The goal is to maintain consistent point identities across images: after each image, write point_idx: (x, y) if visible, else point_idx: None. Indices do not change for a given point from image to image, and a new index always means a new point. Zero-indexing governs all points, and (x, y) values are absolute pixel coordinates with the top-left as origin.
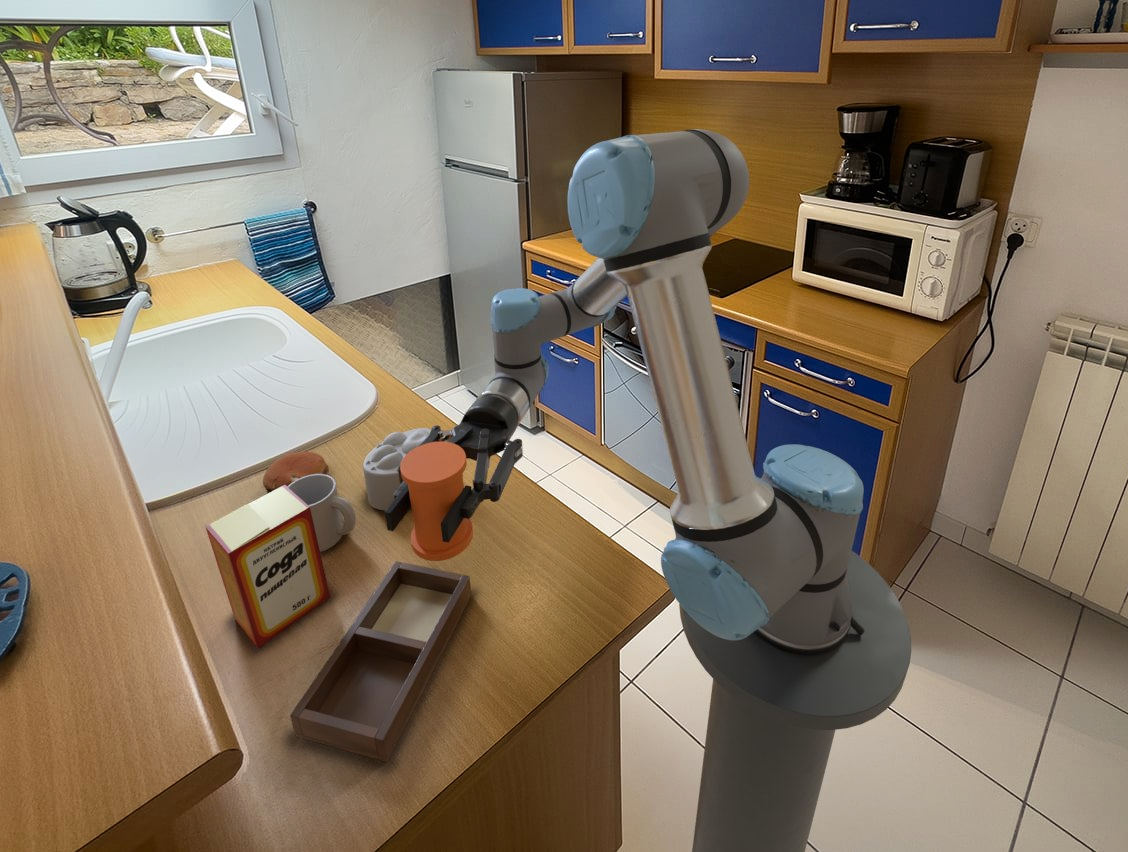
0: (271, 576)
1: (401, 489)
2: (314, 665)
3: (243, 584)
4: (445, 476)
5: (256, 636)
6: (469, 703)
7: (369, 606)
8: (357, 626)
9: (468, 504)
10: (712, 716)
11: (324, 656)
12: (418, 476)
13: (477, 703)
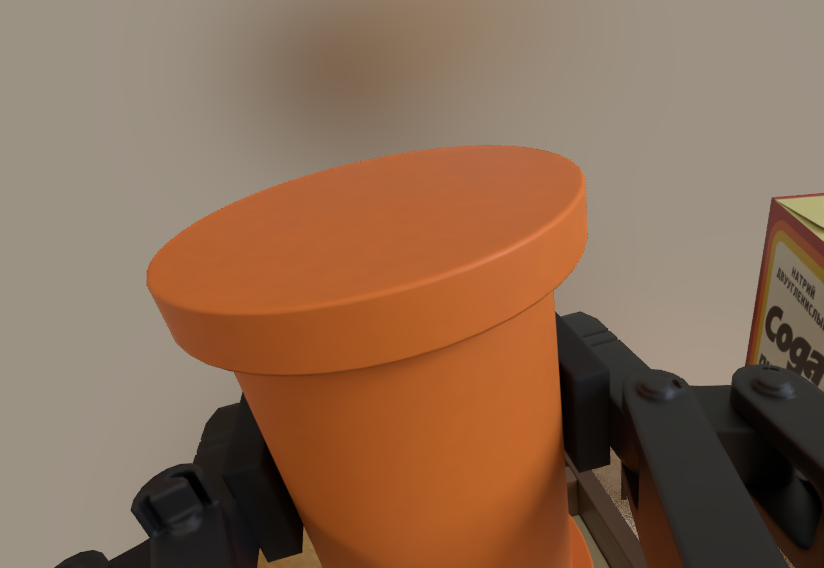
0: (779, 344)
1: (588, 337)
2: (615, 457)
3: (761, 292)
4: (238, 202)
5: None
6: (311, 548)
7: (612, 522)
8: (580, 477)
9: (223, 425)
10: None
11: (620, 474)
12: (369, 166)
13: (297, 555)
